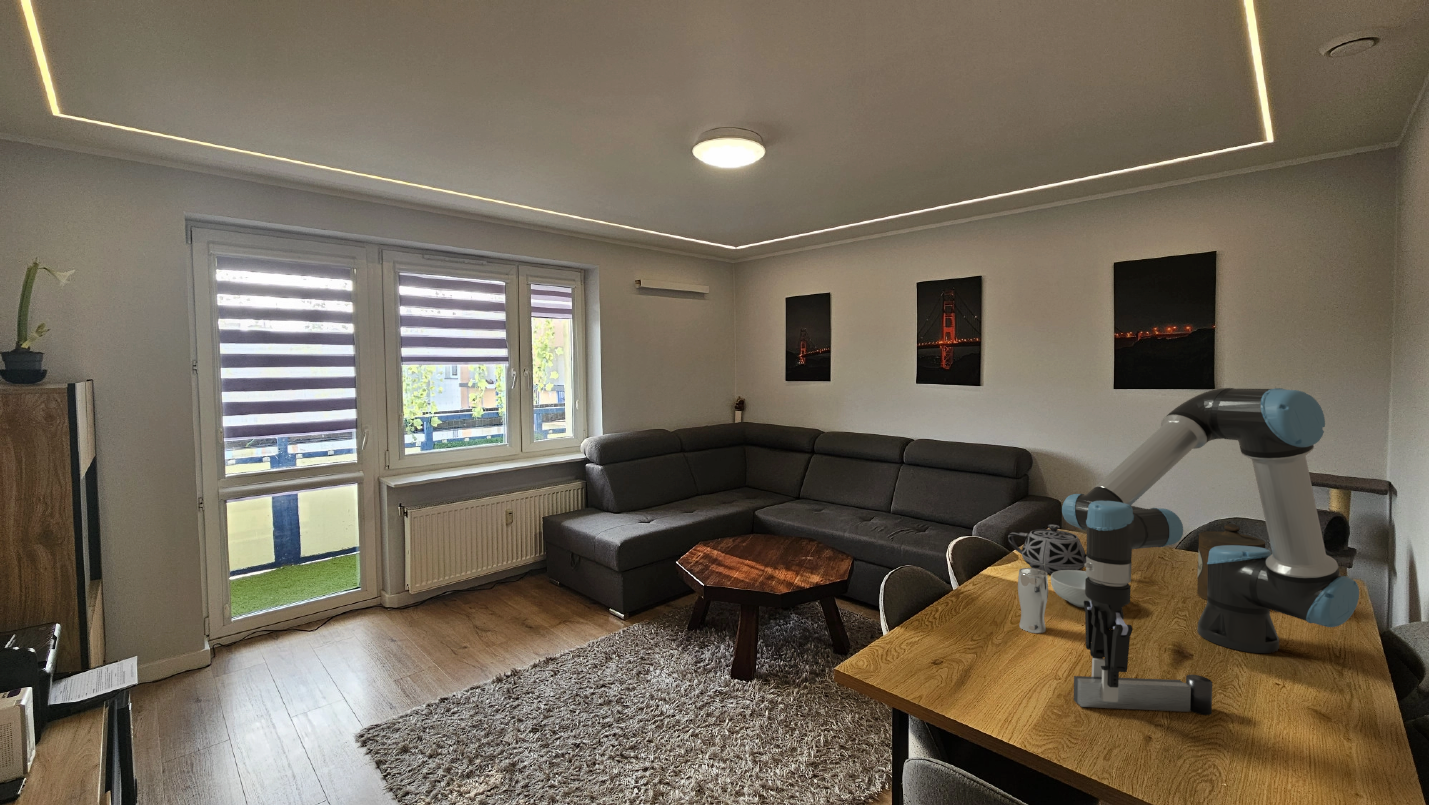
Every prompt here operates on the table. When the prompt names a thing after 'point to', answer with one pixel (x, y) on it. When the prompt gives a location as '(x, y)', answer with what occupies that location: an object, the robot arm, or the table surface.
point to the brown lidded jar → (1219, 539)
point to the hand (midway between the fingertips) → (1104, 695)
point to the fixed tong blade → (1198, 684)
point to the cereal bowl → (1070, 586)
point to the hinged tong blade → (1137, 695)
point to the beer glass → (1032, 599)
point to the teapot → (1051, 550)
